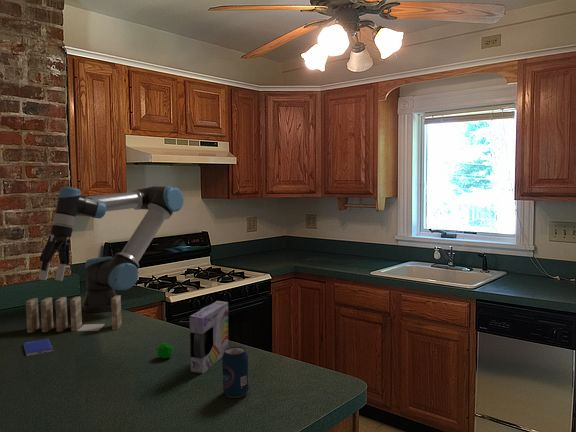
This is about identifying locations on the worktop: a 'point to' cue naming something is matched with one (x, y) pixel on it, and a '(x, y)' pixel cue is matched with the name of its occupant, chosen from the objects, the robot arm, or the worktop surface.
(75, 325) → the domino
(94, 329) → the end pad
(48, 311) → the domino
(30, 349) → the hard drive
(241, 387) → the soda can
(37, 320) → the domino
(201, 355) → the cake pan box
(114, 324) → the domino
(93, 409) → the worktop surface
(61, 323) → the domino
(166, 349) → the polyhedron
